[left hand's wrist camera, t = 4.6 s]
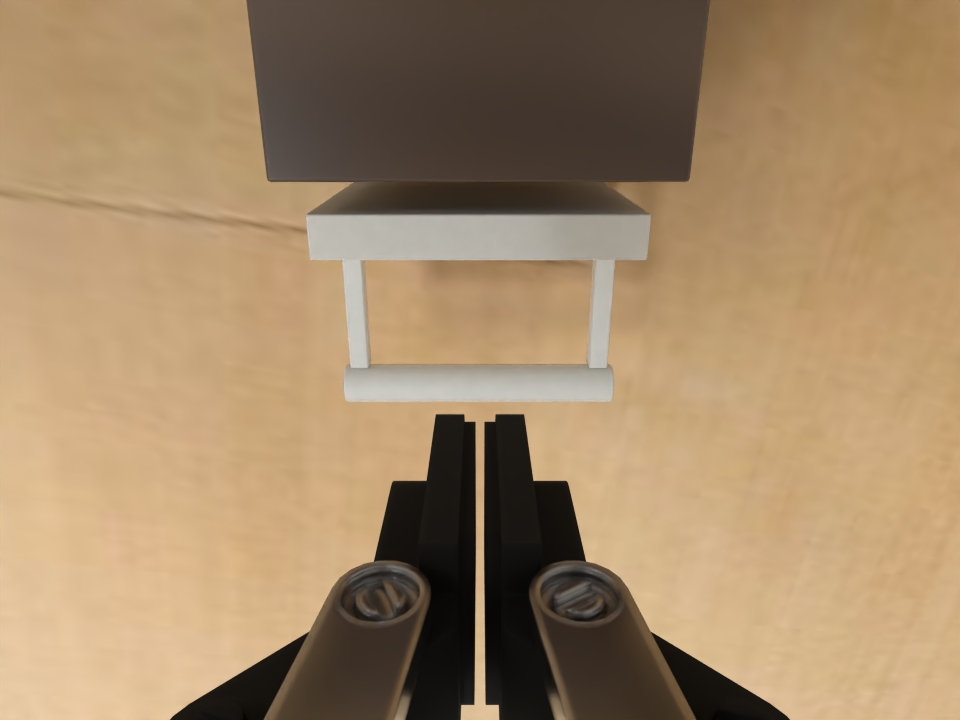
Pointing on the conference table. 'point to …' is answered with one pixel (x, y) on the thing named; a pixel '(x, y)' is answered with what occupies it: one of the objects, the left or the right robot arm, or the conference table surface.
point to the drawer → (478, 236)
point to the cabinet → (478, 89)
